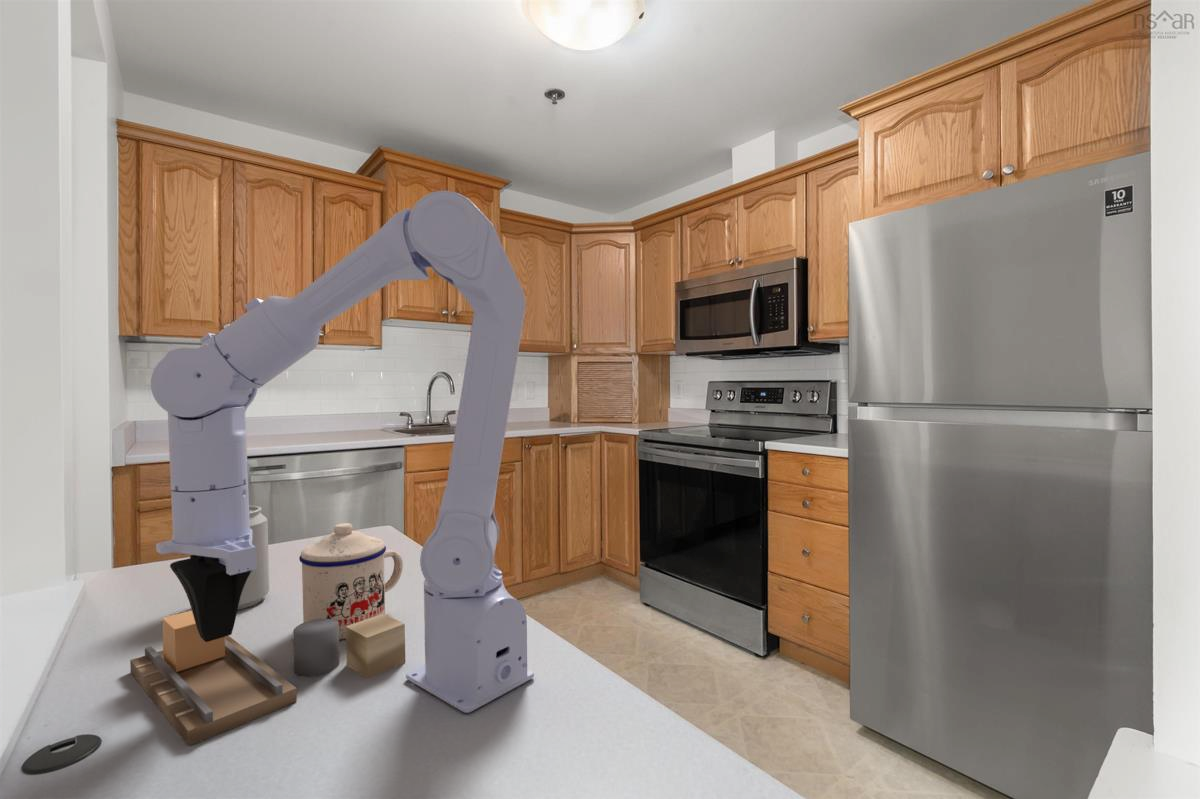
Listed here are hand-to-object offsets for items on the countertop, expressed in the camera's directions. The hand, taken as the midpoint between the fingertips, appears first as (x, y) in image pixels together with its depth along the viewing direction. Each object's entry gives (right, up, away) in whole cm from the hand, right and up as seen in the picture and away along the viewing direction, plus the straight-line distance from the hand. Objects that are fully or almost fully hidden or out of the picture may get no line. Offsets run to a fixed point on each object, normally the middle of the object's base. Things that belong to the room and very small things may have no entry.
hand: (216, 636), depth 52 cm
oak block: (+12, -5, +6) cm, 14 cm away
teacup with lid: (+6, -5, +16) cm, 18 cm away
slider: (-5, -4, +4) cm, 7 cm away
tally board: (-2, -5, +1) cm, 6 cm away
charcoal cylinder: (+7, -5, +5) cm, 10 cm away
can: (-12, -5, +22) cm, 25 cm away
